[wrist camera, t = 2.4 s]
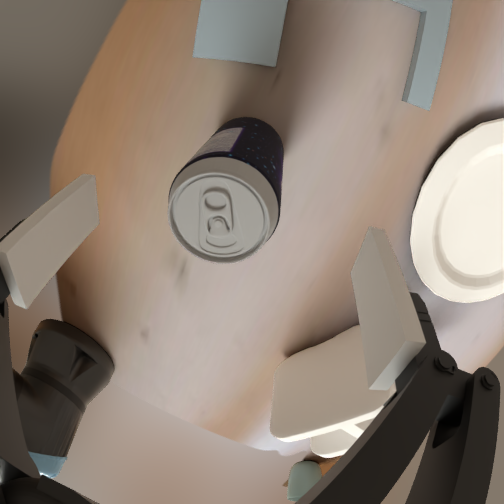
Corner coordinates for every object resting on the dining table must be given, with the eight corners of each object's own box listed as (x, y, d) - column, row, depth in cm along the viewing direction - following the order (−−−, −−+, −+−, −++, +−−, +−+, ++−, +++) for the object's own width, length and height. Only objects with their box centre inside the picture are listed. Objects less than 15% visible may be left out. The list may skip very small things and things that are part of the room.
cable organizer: (380, 308, 32) (401, 399, 23) (411, 352, 36) (429, 429, 27) (273, 358, 39) (266, 441, 30) (317, 392, 43) (317, 463, 33)
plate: (451, 320, 33) (455, 330, 32) (363, 204, 26) (367, 213, 25) (568, 226, 23) (575, 233, 22) (519, 74, 17) (529, 76, 15)
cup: (308, 456, 60) (306, 495, 52) (328, 462, 62) (328, 498, 54) (283, 462, 63) (280, 498, 55) (304, 468, 66) (302, 502, 58)
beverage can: (216, 182, 26) (171, 269, 17) (210, 117, 23) (149, 167, 13) (284, 181, 26) (279, 271, 16) (282, 114, 23) (278, 161, 13)
